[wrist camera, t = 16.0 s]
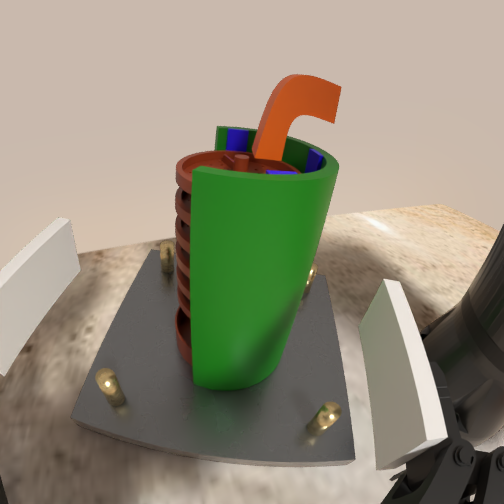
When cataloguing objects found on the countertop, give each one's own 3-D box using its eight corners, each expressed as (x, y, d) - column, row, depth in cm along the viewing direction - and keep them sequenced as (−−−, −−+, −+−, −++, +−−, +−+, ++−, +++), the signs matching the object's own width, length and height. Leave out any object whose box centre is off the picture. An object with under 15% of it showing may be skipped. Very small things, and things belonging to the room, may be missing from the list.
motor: (171, 298, 26) (179, 62, 15) (263, 292, 29) (308, 78, 18) (183, 396, 19) (189, 53, 7) (299, 378, 21) (406, 102, 10)
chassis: (321, 285, 34) (332, 254, 31) (346, 464, 16) (375, 446, 14) (152, 259, 33) (150, 226, 30) (77, 425, 16) (54, 398, 13)
